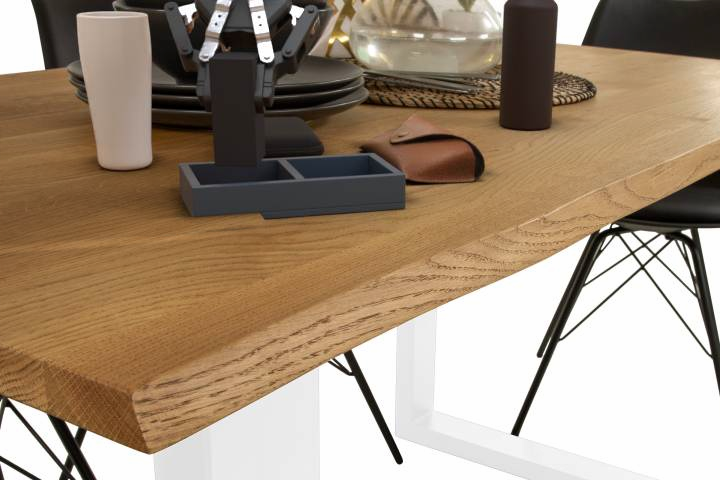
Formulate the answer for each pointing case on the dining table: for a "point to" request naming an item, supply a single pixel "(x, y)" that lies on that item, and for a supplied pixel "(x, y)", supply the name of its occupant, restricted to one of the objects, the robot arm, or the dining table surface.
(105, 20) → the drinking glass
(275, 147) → the carrying case
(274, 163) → the tray
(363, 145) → the sunglasses case
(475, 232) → the dining table surface
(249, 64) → the black rectangular block
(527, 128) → the bottle
